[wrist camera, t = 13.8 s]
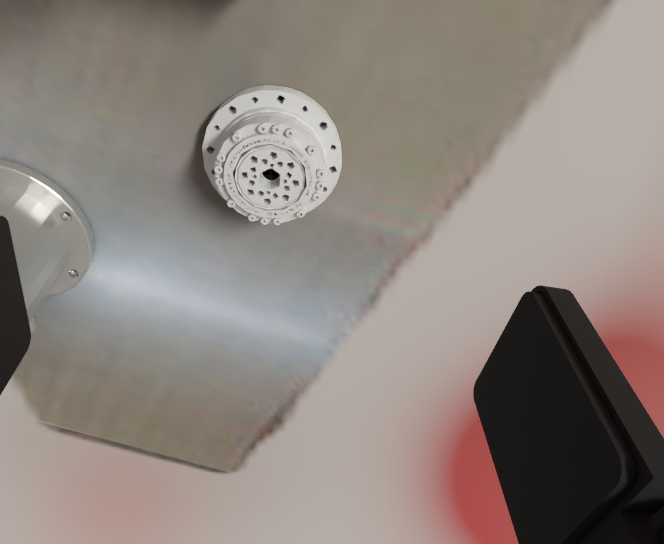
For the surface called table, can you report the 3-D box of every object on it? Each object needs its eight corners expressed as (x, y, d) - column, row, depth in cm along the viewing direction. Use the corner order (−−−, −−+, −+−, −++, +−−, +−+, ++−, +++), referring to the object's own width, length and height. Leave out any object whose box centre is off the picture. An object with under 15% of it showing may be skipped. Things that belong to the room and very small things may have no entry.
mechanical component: (208, 70, 35) (202, 200, 40) (196, 92, 31) (192, 230, 37) (353, 97, 36) (327, 218, 42) (358, 121, 32) (329, 249, 38)
